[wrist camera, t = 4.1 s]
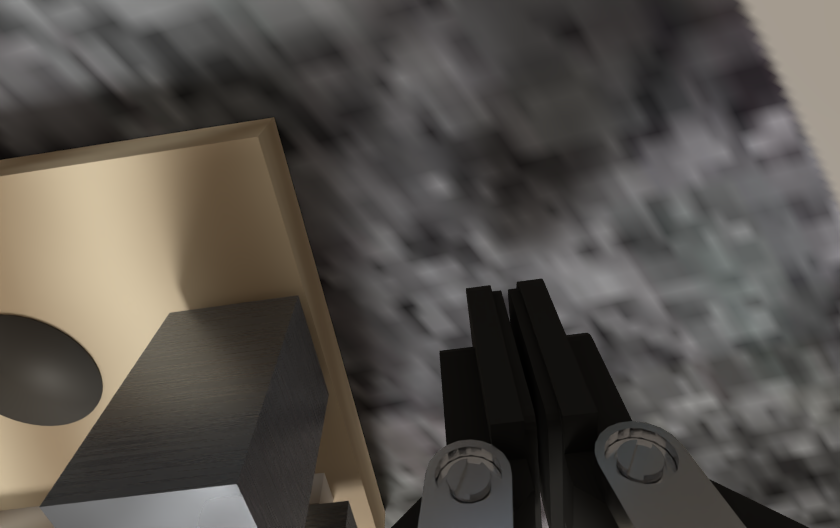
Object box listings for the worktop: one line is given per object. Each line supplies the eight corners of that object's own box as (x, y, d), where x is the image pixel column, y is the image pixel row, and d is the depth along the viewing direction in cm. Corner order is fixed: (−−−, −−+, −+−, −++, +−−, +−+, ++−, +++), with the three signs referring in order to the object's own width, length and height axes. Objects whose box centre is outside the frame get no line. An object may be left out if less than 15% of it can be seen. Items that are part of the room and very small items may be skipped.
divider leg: (300, 290, 12) (236, 484, 8) (369, 517, 16) (354, 731, 12) (172, 307, 12) (39, 507, 8) (272, 527, 17) (220, 743, 12)
